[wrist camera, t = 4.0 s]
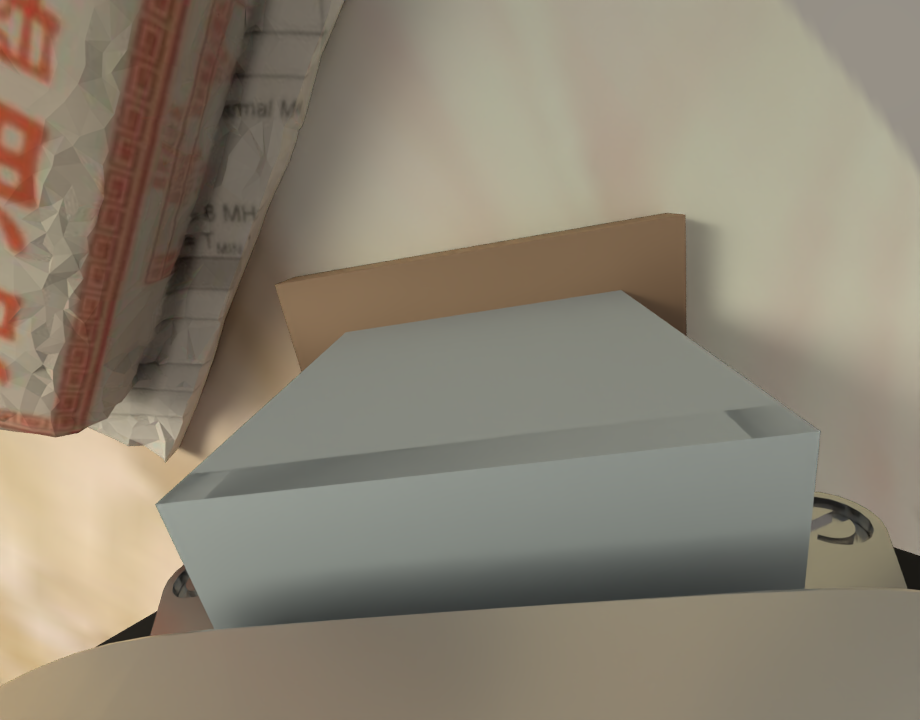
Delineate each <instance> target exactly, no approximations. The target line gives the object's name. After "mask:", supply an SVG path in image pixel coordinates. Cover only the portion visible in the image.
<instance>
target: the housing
mask: <svg viewBox="0 0 920 720" xmlns="http://www.w3.org/2000/svg"><path fill="white" fill-rule="evenodd" d="M820 432H821V431H819V430H818V429H817V428H815V427H814V426H812V425H811V424H810V423H808V422H807V421H805V420H804V419H802V418H801V417H800V416H798V415H797V414H795V413H794V412H793V411H791V410H790V409H788V408H787V407H786V406H784V405H783V404H781V403H780V402H778V401H777V400H776V399H774V398H773V397H771V396H770V395H769V394H767V393H766V392H764V391H763V390H762V389H760V388H759V387H757V386H756V385H755V384H753V383H752V382H750V381H749V380H747V379H746V378H745V377H743V376H742V375H740V374H739V373H738V372H736V371H735V370H733V369H732V368H731V367H729V366H728V365H726V364H725V363H723V362H722V361H721V360H719V359H718V358H716V357H715V356H714V355H712V354H711V353H709V352H708V351H707V350H705V349H704V348H702V347H701V346H699V345H698V344H697V343H695V342H694V341H692V340H691V339H690V338H688V337H687V336H685V335H684V334H683V333H681V332H680V331H678V330H677V329H675V328H674V327H673V326H671V325H670V324H668V323H667V322H666V321H664V320H663V319H661V318H660V317H659V316H657V315H656V314H654V313H653V312H651V311H650V310H649V309H647V308H646V307H644V306H643V305H642V304H640V303H639V302H637V301H636V300H635V299H633V298H632V297H630V296H629V295H627V294H626V293H625V292H623V291H622V290H618V291H612V292H605V293H599V294H592V295H586V296H579V297H573V298H566V299H560V300H553V301H547V302H540V303H533V304H527V305H520V306H514V307H507V308H501V309H494V310H488V311H481V312H475V313H468V314H462V315H455V316H449V317H442V318H436V319H429V320H423V321H416V322H410V323H403V324H397V325H390V326H384V327H377V328H371V329H364V330H358V331H351V332H346V333H344V334H343V335H342V336H341V337H340V338H339V339H338V340H337V341H336V342H335V343H333V344H332V345H331V346H330V347H329V348H328V349H327V350H326V351H325V352H323V353H322V354H321V355H320V356H319V357H318V358H317V359H316V360H315V361H314V362H312V363H311V364H310V365H309V366H308V367H307V368H306V369H305V370H304V371H302V372H301V373H300V374H299V375H298V376H297V377H296V378H295V379H294V380H292V381H291V382H290V383H289V384H288V385H287V386H286V387H285V388H284V389H283V390H281V391H280V392H279V393H278V394H277V395H276V396H275V397H274V398H273V399H271V400H270V401H269V402H268V403H267V404H266V405H265V406H264V407H263V408H262V409H260V410H259V411H258V412H257V413H256V414H255V415H254V416H253V417H252V418H250V419H249V420H248V421H247V422H246V423H245V424H244V425H243V426H242V427H240V428H239V429H238V430H237V431H236V432H235V433H234V434H233V435H232V436H231V437H229V438H228V439H227V440H226V441H225V442H224V443H223V444H222V445H221V446H219V447H218V448H217V449H216V450H215V451H214V452H213V453H212V454H211V455H210V456H208V457H207V458H206V459H205V460H204V461H203V462H202V463H201V464H200V465H198V466H197V467H196V468H195V469H194V470H193V471H192V472H191V473H190V474H188V475H187V476H186V477H185V478H184V479H183V480H182V481H181V482H180V483H179V484H177V485H176V486H175V487H174V488H173V489H172V490H171V491H170V492H169V493H167V494H166V495H165V496H164V497H163V498H162V499H161V500H160V501H159V502H158V503H156V504H155V505H156V507H157V509H158V511H159V513H160V516H161V518H162V520H163V522H164V524H165V526H166V528H167V530H168V532H169V535H170V537H171V539H172V541H173V543H174V545H175V547H176V549H177V551H178V553H179V556H180V558H181V560H182V562H183V564H184V566H185V568H186V570H187V572H188V575H189V577H190V579H191V581H192V583H193V585H194V587H195V589H196V591H197V594H198V596H199V598H200V600H201V602H202V604H203V606H204V608H205V610H206V613H207V615H208V617H209V619H210V621H211V623H212V625H213V627H214V629H223V628H236V627H249V626H262V625H276V624H289V623H302V622H315V621H328V620H341V619H355V618H369V617H384V616H397V615H411V614H425V613H439V612H452V611H466V610H481V609H495V608H509V607H524V606H538V605H553V604H567V603H582V602H596V601H611V600H626V599H642V598H657V597H672V596H688V595H703V594H719V593H734V592H749V591H765V590H789V589H805V580H806V570H807V560H808V551H809V541H810V531H811V521H812V511H813V501H814V491H815V481H816V472H817V462H818V452H819V442H820Z"/></svg>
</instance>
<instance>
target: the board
mask: <svg viewBox="0 0 920 720" xmlns="http://www.w3.org/2000/svg"><path fill="white" fill-rule="evenodd" d="M275 288H276V291H277V294H278V297H279V301H280V304H281V307H282V310H283V314H284V317H285V320H286V323H287V326H288V330H289V333H290V336H291V339H292V343H293V346H294V349H295V352H296V355H297V359H298V362H299V365H300V368H301V372H302V371H304V370H305V369H306V368H307V367H308V366H309V365H310V364H311V363H312V362H314V361H315V360H316V359H317V358H318V357H319V356H320V355H321V354H322V353H323V352H325V351H326V350H327V349H328V348H329V347H330V346H331V345H332V344H333V343H335V342H336V341H337V340H338V339H339V338H340V337H341V336H342V335H343V334H344V333H346V332H351V331H358V330H364V329H371V328H377V327H384V326H390V325H397V324H403V323H410V322H416V321H423V320H429V319H436V318H442V317H449V316H455V315H462V314H468V313H475V312H481V311H488V310H494V309H501V308H507V307H514V306H520V305H527V304H533V303H540V302H547V301H553V300H560V299H566V298H573V297H579V296H586V295H592V294H599V293H605V292H612V291H618V290H622V291H623V292H625V293H626V294H627V295H629V296H630V297H632V298H633V299H635V300H636V301H637V302H639V303H640V304H642V305H643V306H644V307H646V308H647V309H649V310H650V311H651V312H653V313H654V314H656V315H657V316H659V317H660V318H661V319H663V320H664V321H666V322H667V323H668V324H670V325H671V326H673V327H674V328H675V329H677V330H678V331H680V332H681V333H683V334H684V335H685V336H686V226H685V215H683V214H671V213H664V214H658V215H652V216H647V217H641V218H635V219H629V220H623V221H618V222H612V223H606V224H600V225H594V226H588V227H583V228H577V229H571V230H565V231H559V232H554V233H548V234H542V235H536V236H530V237H525V238H519V239H513V240H507V241H501V242H496V243H490V244H484V245H478V246H472V247H467V248H461V249H455V250H449V251H443V252H438V253H432V254H426V255H420V256H414V257H409V258H403V259H397V260H391V261H385V262H380V263H374V264H368V265H362V266H356V267H351V268H345V269H339V270H333V271H327V272H322V273H316V274H310V275H304V276H298V277H294V278H291V279H288V280H286V281H283V282H281V283H278V284H276V285H275Z"/></svg>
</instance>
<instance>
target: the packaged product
mask: <svg viewBox="0 0 920 720" xmlns="http://www.w3.org/2000/svg"><path fill="white" fill-rule="evenodd" d="M344 1H345V0H0V429H2V430H8V431H15V432H24V433H33V434H40V435H46V436H51V437H60V436H65V435H70V434H74V433H79V432H80V431H82V430H84V429H85V428H87V427H89V428H91V429H93V430H95V431H97V432H99V433H102V434H104V435H107V436H109V437H111V438H113V439H115V440H117V441H119V442H121V443H123V444H125V445H127V446H142V445H144V446H145V447H147V448H148V449H150V450H151V451H153V452H154V453H156V454H157V455H158V456H160V457H161V458H163V459H164V461H165V462H167V460H168V459H169V458H170V457H171V456H172V455H173V454H174V453H175V451H176V450H177V449H178V448H179V447H180V444H181V442H182V439H183V437H184V435H185V432H186V430H187V427H188V425H189V423H190V420H191V418H192V416H193V413H194V411H195V409H196V406H197V404H198V401H199V399H200V396H201V393H202V390H203V387H204V384H205V382H206V379H207V376H208V373H209V370H210V367H211V365H212V362H213V359H214V356H215V353H216V349H217V346H218V342H219V339H220V336H221V332H222V329H223V325H224V321H225V318H226V315H227V313H228V310H229V308H230V305H231V303H232V300H233V298H234V295H235V293H236V290H237V288H238V285H239V283H240V280H241V278H242V275H243V273H244V270H245V268H246V265H247V263H248V260H249V258H250V255H251V253H252V250H253V248H254V245H255V243H256V240H257V238H258V235H259V233H260V230H261V227H262V224H263V221H264V218H265V215H266V212H267V209H268V207H269V205H270V203H271V200H272V198H273V196H274V194H275V192H276V189H277V187H278V185H279V183H280V181H281V179H282V176H283V174H284V172H285V170H286V168H287V165H288V163H289V161H290V158H291V155H292V152H293V150H294V147H295V144H296V141H297V136H298V130H299V129H300V128H301V127H302V125H303V122H304V119H305V116H306V112H307V109H308V105H309V101H310V97H311V93H312V90H313V86H314V82H315V78H316V74H317V71H318V67H319V63H320V59H321V55H322V52H323V51H324V49H325V46H326V44H327V41H328V39H329V37H330V34H331V32H332V30H333V27H334V25H335V23H336V20H337V18H338V15H339V13H340V10H341V8H342V6H343V3H344Z"/></svg>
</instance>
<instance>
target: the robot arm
mask: <svg viewBox="0 0 920 720" xmlns="http://www.w3.org/2000/svg"><path fill="white" fill-rule="evenodd" d="M0 720H920V556H918V555H915V554H912V553H909V552H906V551H903V550H900V549H897V548H894V547H893V545H892V542H891V539H890V537H889V534H888V531H887V529H886V527H885V526H884V524H883V522H882V521H881V520H880V519H879V518H878V517H877V516H876V515H874V514H873V513H872V512H871V511H870V510H868V509H866V508H864V507H863V506H861V505H859V504H857V503H855V502H853V501H850V500H847V499H845V498H842V497H839V496H835V495H831V494H826V493H822V492H814V501H813V511H812V521H811V531H810V541H809V551H808V560H807V570H806V580H805V589H789V590H765V591H749V592H734V593H719V594H703V595H688V596H672V597H657V598H642V599H626V600H611V601H596V602H582V603H567V604H553V605H538V606H524V607H509V608H495V609H481V610H466V611H452V612H439V613H425V614H411V615H397V616H384V617H369V618H355V619H341V620H328V621H315V622H302V623H289V624H276V625H262V626H249V627H236V628H223V629H214V627H213V625H212V623H211V621H210V619H209V617H208V615H207V613H206V610H205V608H204V606H203V604H202V602H201V600H200V598H199V596H198V594H197V591H196V589H195V587H194V585H193V583H192V581H191V579H190V577H189V575H188V572H187V570H186V568H185V566H184V565H183V566H182V567H181V568H180V569H178V570H177V571H176V572H175V573H174V574H173V576H172V577H171V578H170V579H169V580H168V582H167V584H166V586H165V588H164V590H163V593H162V597H161V600H160V604H159V607H158V611H156V612H155V613H153V614H151V615H150V616H148V617H146V618H144V619H143V620H141V621H139V622H138V623H136V624H134V625H132V626H131V627H129V628H127V629H126V630H124V631H122V632H120V633H119V634H117V635H115V636H114V637H112V638H110V639H108V640H107V641H105V642H103V643H102V644H100V645H98V646H96V647H95V648H91V649H88V650H84V651H81V652H77V653H74V654H72V655H69V656H66V657H64V658H61V659H58V660H56V661H53V662H51V663H48V664H46V665H43V666H41V667H38V668H36V669H34V670H32V671H30V672H27V673H25V674H23V675H21V676H19V677H17V678H15V679H13V680H11V681H9V682H7V683H5V684H3V685H2V686H0Z"/></svg>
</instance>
